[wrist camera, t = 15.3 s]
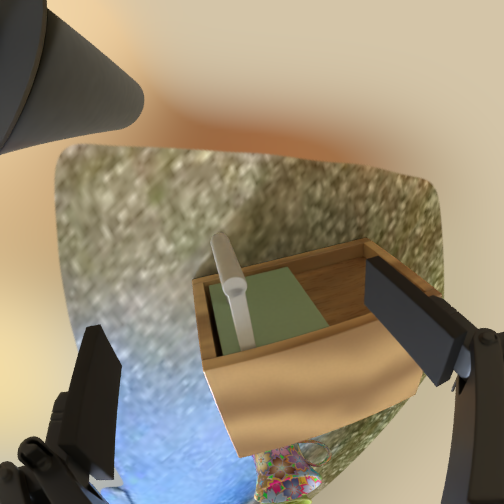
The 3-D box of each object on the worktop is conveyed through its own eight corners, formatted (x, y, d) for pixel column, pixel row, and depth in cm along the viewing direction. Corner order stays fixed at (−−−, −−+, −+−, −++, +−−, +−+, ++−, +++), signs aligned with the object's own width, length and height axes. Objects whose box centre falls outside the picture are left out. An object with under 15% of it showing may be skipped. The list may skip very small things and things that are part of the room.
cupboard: (191, 279, 29) (202, 370, 18) (366, 236, 31) (442, 294, 21) (219, 370, 34) (239, 458, 23) (363, 328, 37) (415, 394, 26)
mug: (262, 453, 44) (278, 506, 35) (226, 436, 40) (240, 497, 31) (323, 418, 43) (350, 471, 34) (294, 396, 39) (322, 459, 30)
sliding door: (193, 226, 26) (202, 283, 17) (280, 207, 27) (329, 252, 18) (210, 292, 28) (226, 366, 20) (288, 273, 29) (331, 337, 21)
